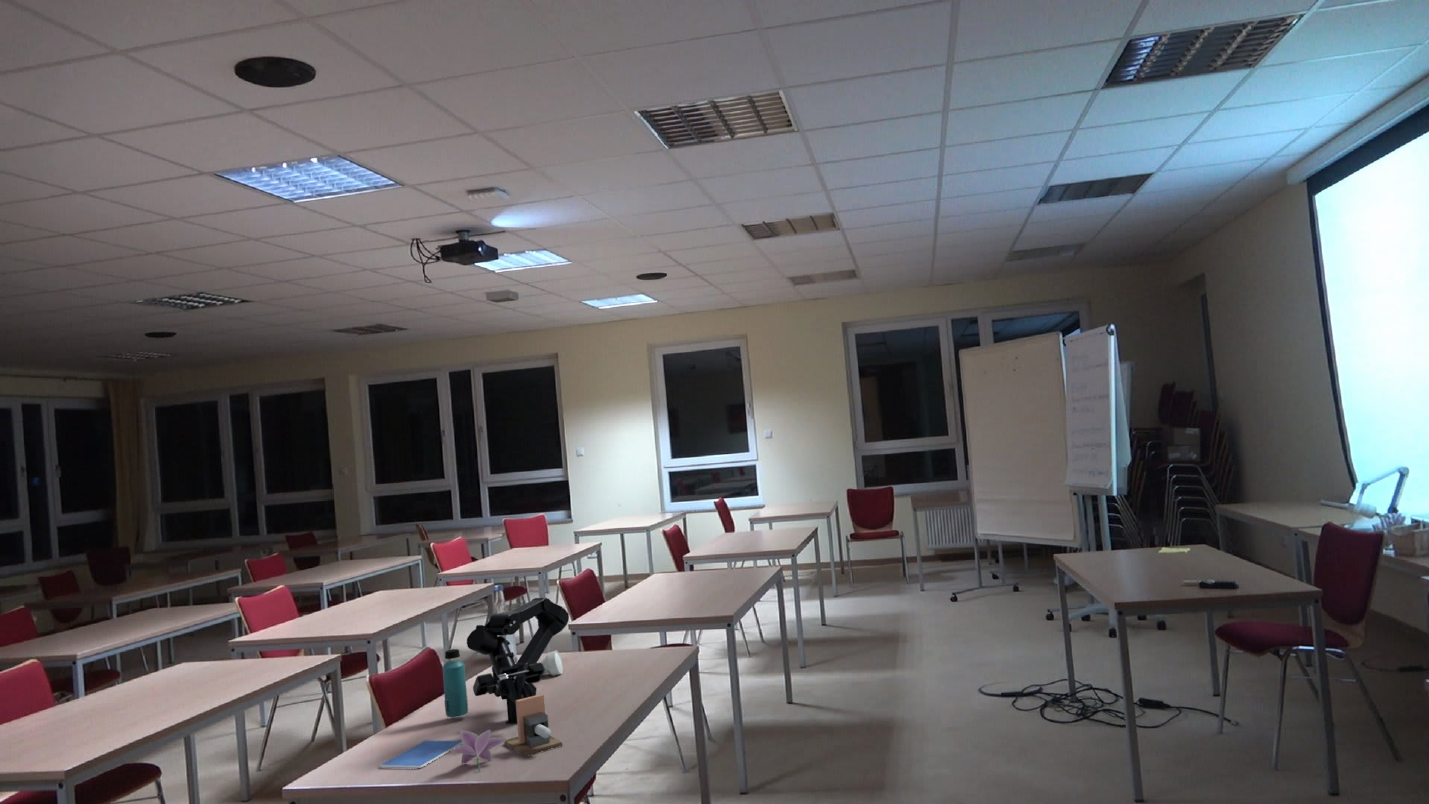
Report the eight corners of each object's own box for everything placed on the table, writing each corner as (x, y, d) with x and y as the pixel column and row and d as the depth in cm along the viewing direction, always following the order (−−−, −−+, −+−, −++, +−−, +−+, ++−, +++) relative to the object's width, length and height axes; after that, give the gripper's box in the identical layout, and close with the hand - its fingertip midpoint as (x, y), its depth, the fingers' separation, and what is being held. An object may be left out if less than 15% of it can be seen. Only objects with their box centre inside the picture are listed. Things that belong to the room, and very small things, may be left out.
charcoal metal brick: (525, 744, 221) (522, 716, 222) (543, 739, 224) (541, 711, 225) (531, 748, 218) (528, 719, 219) (549, 743, 221) (547, 714, 221)
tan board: (504, 744, 227) (504, 740, 227) (540, 734, 232) (540, 730, 232) (524, 756, 215) (524, 752, 215) (562, 746, 221) (562, 742, 221)
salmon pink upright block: (518, 742, 222) (515, 700, 223) (544, 735, 226) (541, 694, 227) (534, 751, 214) (530, 707, 215) (560, 743, 218) (557, 701, 218)
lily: (514, 765, 213) (507, 726, 218) (491, 762, 203) (483, 721, 207) (471, 783, 214) (464, 743, 219) (445, 780, 204) (439, 739, 208)
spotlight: (560, 674, 293) (554, 650, 295) (527, 683, 294) (522, 659, 296) (566, 672, 301) (560, 649, 303) (534, 682, 301) (529, 658, 303)
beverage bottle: (473, 716, 256) (468, 647, 257) (458, 723, 250) (453, 652, 251) (456, 715, 259) (451, 647, 260) (440, 722, 253) (435, 652, 254)
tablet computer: (425, 744, 235) (424, 739, 235) (465, 744, 231) (465, 739, 231) (377, 771, 216) (377, 765, 216) (421, 771, 213) (421, 766, 213)
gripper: (525, 668, 250) (544, 714, 240) (461, 682, 239) (478, 731, 229) (535, 643, 244) (555, 690, 234) (470, 657, 233) (488, 706, 223)
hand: (519, 705), depth 230 cm, fingers closed
